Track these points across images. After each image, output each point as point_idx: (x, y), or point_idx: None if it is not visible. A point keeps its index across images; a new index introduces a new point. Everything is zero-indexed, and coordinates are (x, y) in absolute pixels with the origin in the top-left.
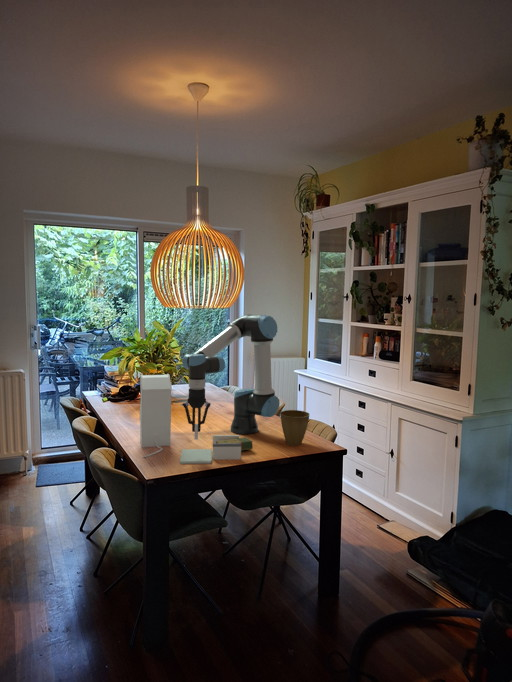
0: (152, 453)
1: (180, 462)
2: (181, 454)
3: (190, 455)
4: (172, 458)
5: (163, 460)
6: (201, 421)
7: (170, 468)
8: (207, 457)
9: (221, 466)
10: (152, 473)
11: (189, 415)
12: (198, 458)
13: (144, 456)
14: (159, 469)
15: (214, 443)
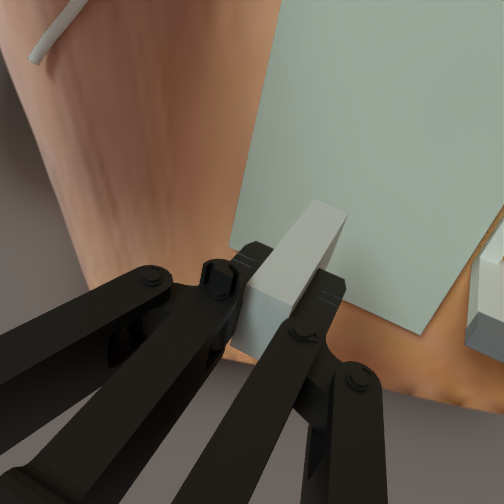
0: (73, 8)
1: (234, 245)
2: (260, 108)
3: (319, 159)
4: (204, 122)
5: (152, 141)
6: (305, 415)
7: (183, 279)
8: (429, 257)
9: (460, 393)
10: None
11: (69, 386)
12: (355, 247)
13: (40, 59)
14: (137, 266)
15: (494, 336)
